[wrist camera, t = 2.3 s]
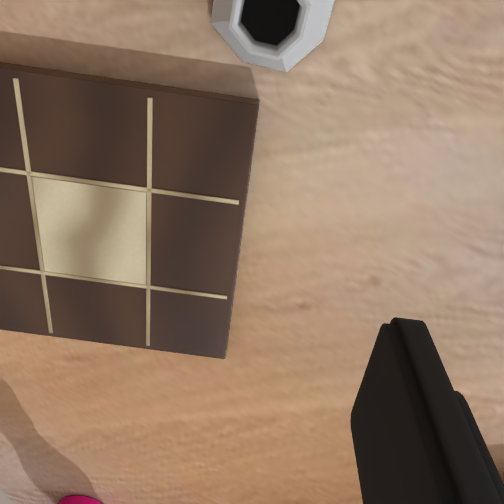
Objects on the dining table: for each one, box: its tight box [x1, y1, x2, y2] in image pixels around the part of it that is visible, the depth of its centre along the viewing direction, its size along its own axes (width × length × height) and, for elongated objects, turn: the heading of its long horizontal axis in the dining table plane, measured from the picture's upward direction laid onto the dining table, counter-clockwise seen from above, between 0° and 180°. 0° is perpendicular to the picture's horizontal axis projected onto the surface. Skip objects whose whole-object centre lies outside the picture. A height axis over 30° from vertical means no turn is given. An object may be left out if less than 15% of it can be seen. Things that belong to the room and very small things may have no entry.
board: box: [0, 62, 260, 359], centre depth 34 cm, size 22×22×2 cm
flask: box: [210, 0, 335, 72], centre depth 22 cm, size 7×7×10 cm
